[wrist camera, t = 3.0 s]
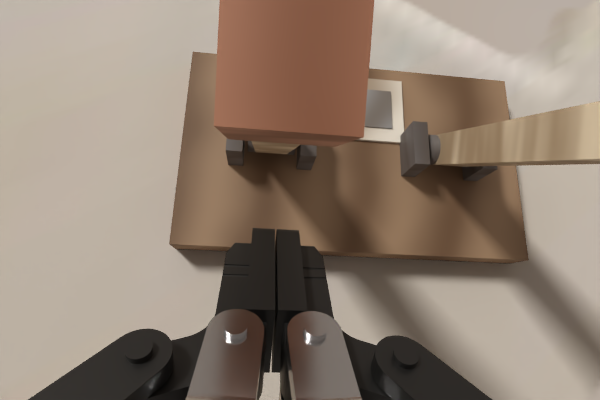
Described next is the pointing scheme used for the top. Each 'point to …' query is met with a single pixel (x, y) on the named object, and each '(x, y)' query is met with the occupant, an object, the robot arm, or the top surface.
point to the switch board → (355, 178)
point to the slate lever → (524, 140)
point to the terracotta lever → (292, 72)
